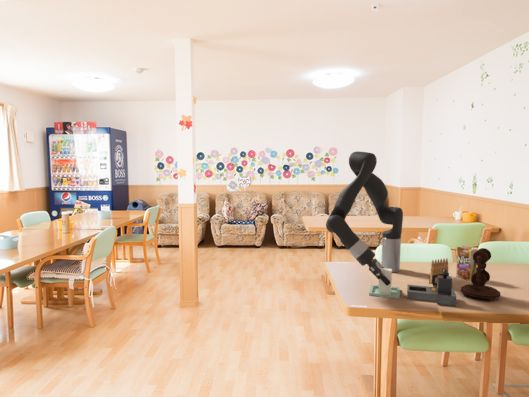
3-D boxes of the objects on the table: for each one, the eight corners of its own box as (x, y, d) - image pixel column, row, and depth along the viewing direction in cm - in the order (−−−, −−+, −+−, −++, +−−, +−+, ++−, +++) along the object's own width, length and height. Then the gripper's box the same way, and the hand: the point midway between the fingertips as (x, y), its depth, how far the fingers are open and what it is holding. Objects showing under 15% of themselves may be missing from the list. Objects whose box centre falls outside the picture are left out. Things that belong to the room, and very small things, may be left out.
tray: (371, 289, 177) (371, 284, 177) (399, 292, 174) (399, 287, 173) (369, 297, 166) (369, 293, 166) (399, 301, 162) (399, 296, 162)
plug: (378, 290, 172) (379, 267, 172) (391, 291, 171) (391, 268, 170) (378, 293, 169) (379, 270, 168) (390, 294, 167) (391, 271, 166)
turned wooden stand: (465, 288, 179) (467, 244, 177) (503, 295, 170) (505, 249, 168) (456, 296, 168) (458, 250, 166) (496, 304, 158) (499, 255, 157)
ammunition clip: (432, 286, 182) (433, 260, 181) (428, 285, 184) (429, 259, 182) (448, 283, 186) (450, 258, 185) (445, 282, 188) (446, 257, 187)
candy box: (455, 276, 197) (456, 246, 196) (462, 276, 199) (463, 245, 197) (469, 281, 189) (470, 250, 188) (476, 281, 190) (478, 249, 189)
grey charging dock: (407, 293, 172) (408, 263, 170) (453, 298, 166) (454, 267, 165) (407, 301, 162) (408, 269, 161) (456, 306, 156) (457, 273, 155)
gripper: (366, 250, 164) (395, 281, 161) (369, 243, 177) (396, 272, 174) (352, 261, 166) (381, 292, 163) (356, 254, 179) (383, 282, 177)
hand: (389, 281), depth 169 cm, fingers open, 6 cm apart
